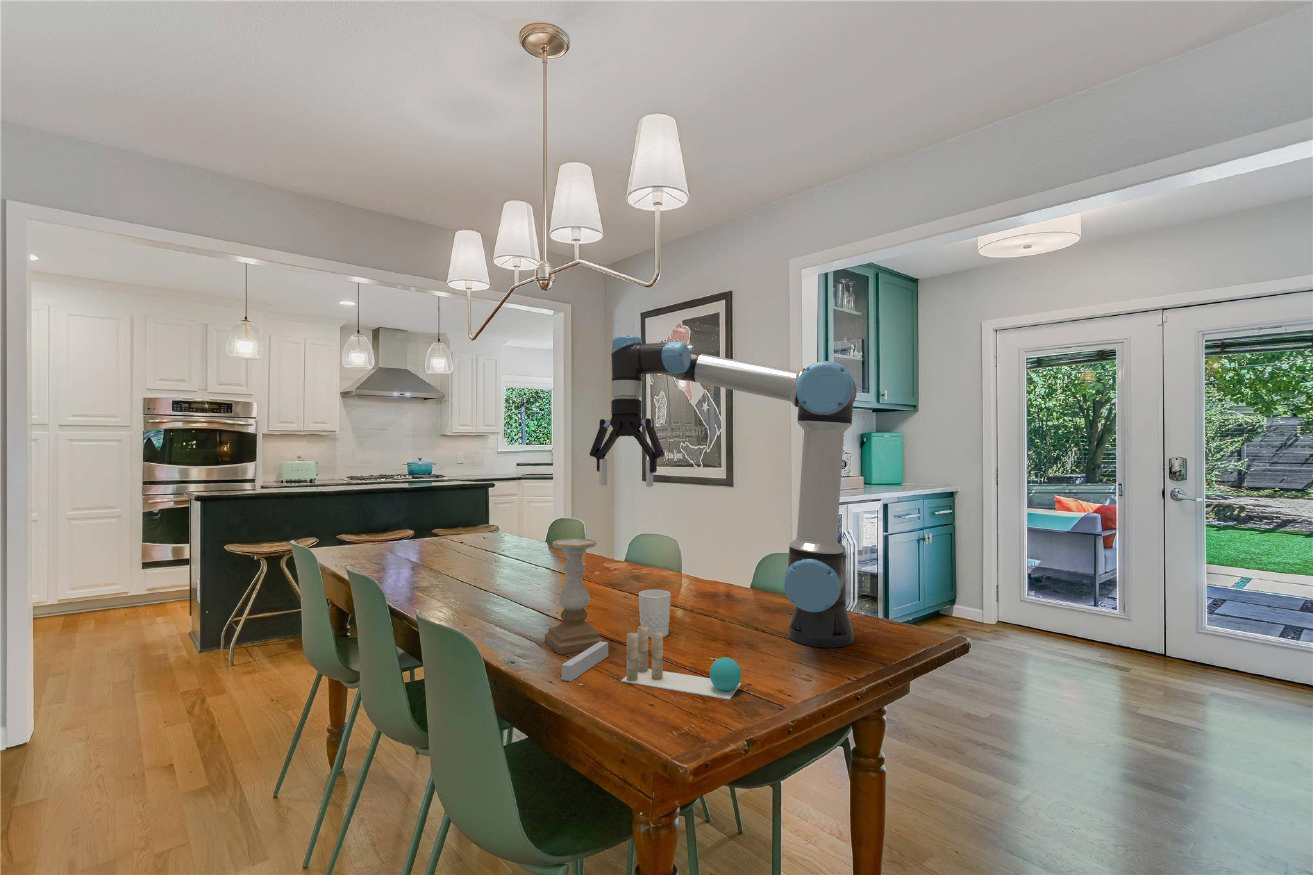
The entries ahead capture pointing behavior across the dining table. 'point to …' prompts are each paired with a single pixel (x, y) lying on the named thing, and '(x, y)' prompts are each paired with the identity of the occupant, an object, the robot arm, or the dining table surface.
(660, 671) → the pin front
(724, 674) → the ball
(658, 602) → the white cup
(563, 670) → the wall
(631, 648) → the pin
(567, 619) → the candle holder
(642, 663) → the pin
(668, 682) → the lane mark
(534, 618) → the dining table surface
